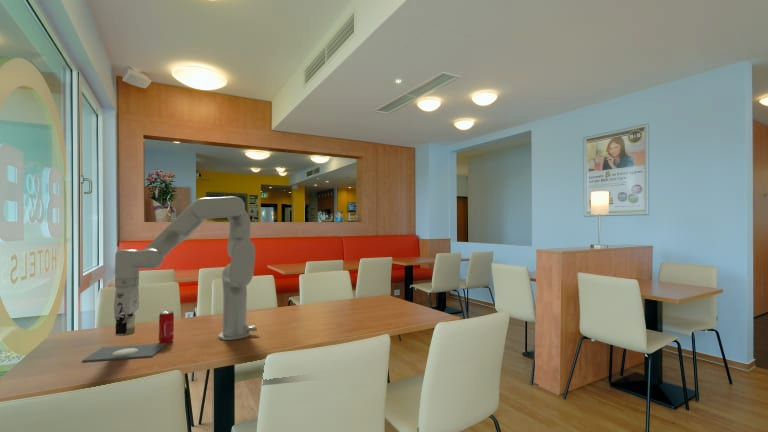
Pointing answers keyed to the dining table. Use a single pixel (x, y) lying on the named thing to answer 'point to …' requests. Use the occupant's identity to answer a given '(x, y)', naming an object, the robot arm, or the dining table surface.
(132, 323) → the birch drum
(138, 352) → the mat
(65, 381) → the dining table surface
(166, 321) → the beverage can
